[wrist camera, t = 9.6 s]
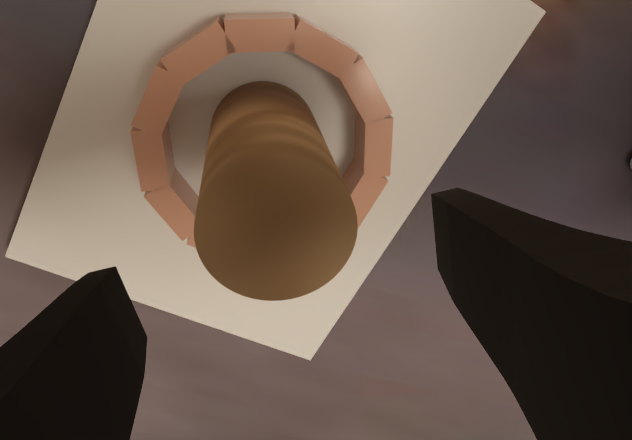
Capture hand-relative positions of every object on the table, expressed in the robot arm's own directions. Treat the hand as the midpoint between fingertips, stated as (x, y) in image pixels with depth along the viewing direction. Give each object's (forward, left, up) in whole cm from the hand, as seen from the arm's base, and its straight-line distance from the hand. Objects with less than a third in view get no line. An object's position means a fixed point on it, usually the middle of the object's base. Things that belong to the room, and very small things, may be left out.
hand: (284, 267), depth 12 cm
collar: (0, 0, -10) cm, 10 cm away
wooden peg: (0, 0, -9) cm, 9 cm away
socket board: (0, 0, -10) cm, 10 cm away
